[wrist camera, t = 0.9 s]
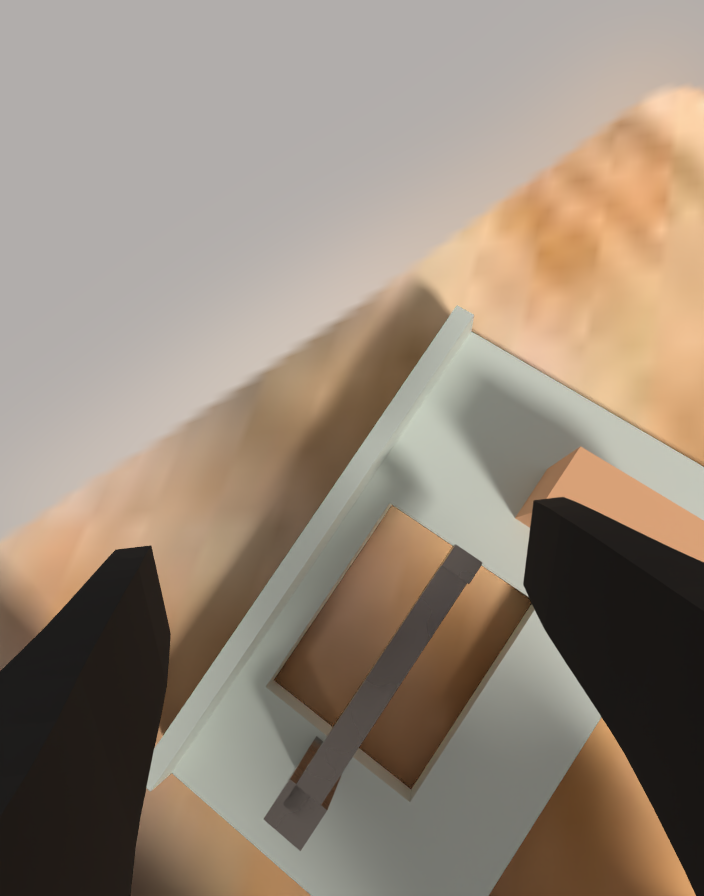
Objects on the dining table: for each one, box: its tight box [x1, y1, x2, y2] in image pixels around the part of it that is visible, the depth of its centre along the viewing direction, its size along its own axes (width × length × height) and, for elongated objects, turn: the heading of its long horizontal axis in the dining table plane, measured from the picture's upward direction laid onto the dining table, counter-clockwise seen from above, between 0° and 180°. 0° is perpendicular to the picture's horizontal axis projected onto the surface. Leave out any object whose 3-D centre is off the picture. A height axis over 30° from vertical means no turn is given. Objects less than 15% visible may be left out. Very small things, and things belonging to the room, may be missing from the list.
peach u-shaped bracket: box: [515, 446, 704, 562], centre depth 20 cm, size 5×2×5 cm, turn 55°
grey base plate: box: [146, 305, 704, 896], centre depth 22 cm, size 13×22×3 cm, turn 145°
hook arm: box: [264, 544, 483, 851], centre depth 21 cm, size 2×11×6 cm, turn 145°
